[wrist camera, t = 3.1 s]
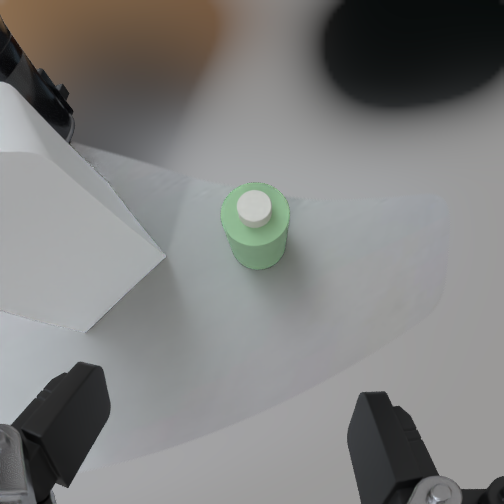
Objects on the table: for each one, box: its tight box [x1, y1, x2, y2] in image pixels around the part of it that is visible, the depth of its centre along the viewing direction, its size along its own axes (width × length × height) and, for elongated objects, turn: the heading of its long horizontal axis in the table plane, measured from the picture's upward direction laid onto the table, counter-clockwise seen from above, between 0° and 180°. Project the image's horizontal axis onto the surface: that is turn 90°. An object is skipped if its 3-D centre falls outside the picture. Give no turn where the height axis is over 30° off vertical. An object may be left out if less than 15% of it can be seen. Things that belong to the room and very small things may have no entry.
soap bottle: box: [221, 183, 290, 270], centre depth 26 cm, size 5×5×8 cm
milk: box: [0, 82, 166, 333], centre depth 18 cm, size 12×12×26 cm
